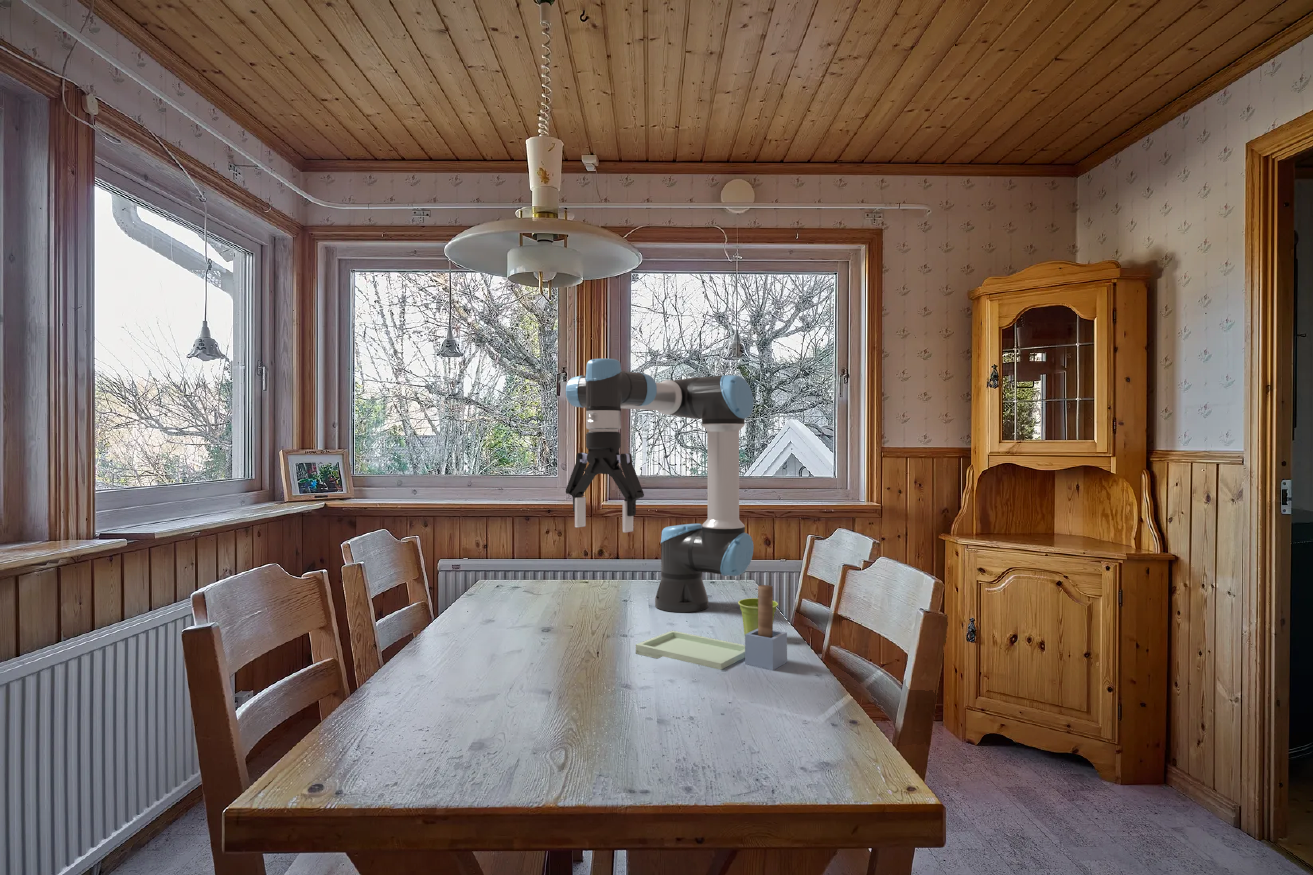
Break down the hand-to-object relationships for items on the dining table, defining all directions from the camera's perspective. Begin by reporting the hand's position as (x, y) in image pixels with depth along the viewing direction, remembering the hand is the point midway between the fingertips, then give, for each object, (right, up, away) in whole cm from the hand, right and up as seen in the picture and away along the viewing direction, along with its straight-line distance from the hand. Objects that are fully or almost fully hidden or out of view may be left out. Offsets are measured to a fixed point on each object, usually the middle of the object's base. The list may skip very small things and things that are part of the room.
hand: (603, 529), depth 150 cm
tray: (+20, -28, +3) cm, 34 cm away
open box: (+34, -28, -5) cm, 45 cm away
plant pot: (+36, -28, +15) cm, 48 cm away
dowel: (+34, -27, -6) cm, 44 cm away
